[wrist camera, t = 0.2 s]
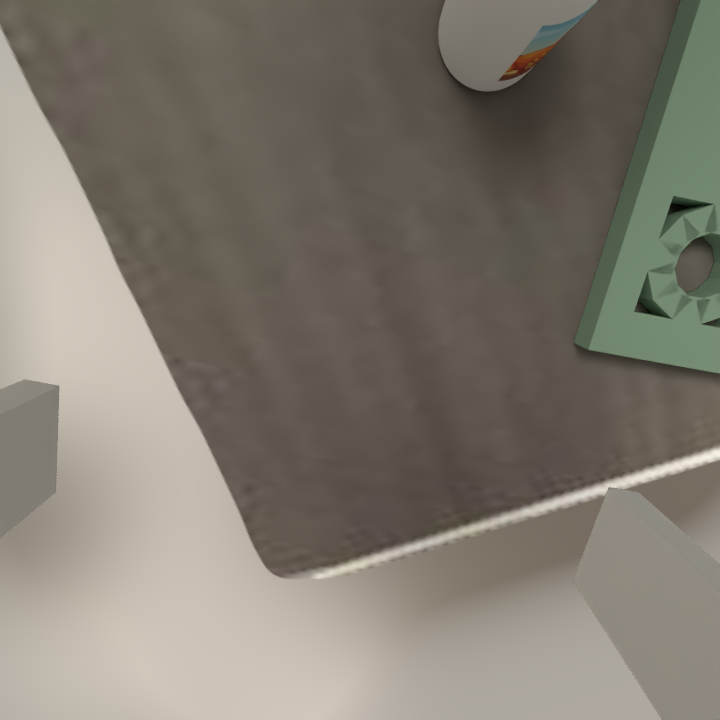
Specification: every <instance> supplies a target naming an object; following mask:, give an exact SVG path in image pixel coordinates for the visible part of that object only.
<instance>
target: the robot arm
mask: <svg viewBox="0 0 720 720" xmlns="http://www.w3.org/2000/svg"><path fill="white" fill-rule="evenodd" d="M58 409H59V386H57V385H52V384H47V383H41V382H36V381H30V380H22V381H20V382H17V383H15V384H12V385H10V386H8V387H5V388H3V389H0V538H1V537H2V536H4V535H5V534H6V533H7V532H8V531H10V530H11V529H12V528H13V527H14V526H16V525H17V524H18V523H19V522H20V521H22V520H23V519H24V518H25V517H26V516H28V515H29V514H30V513H31V512H33V511H34V510H35V509H36V508H37V507H39V506H40V505H41V504H42V503H43V502H44V501H46V500H47V499H48V498H49V497H51V496H52V495H53V494H54V493H55V492H56V472H57V441H58ZM573 582H574V583H575V585H576V586H577V587H578V589H579V591H580V592H581V594H582V596H583V597H584V599H585V600H586V602H587V603H588V605H589V607H590V608H591V610H592V611H593V613H594V614H595V616H596V618H597V619H598V621H599V622H600V624H601V625H602V627H603V628H604V630H605V632H606V633H607V635H608V636H609V638H610V639H611V641H612V643H613V644H614V646H615V647H616V649H617V650H618V652H619V654H620V655H621V656H622V658H623V660H624V661H625V663H626V665H627V666H628V668H629V669H630V671H631V672H632V674H633V675H634V677H635V679H636V680H637V681H638V683H639V685H640V686H641V688H642V689H643V691H644V693H645V694H646V696H647V697H648V699H649V701H650V702H651V704H652V705H653V707H654V708H655V710H656V711H657V713H658V715H659V716H660V718H661V719H662V720H720V564H719V563H717V562H716V561H715V560H714V559H713V558H712V557H711V556H710V555H709V554H707V553H706V552H705V551H704V550H703V549H702V548H701V547H700V546H698V545H697V544H696V543H695V542H694V541H693V540H692V539H690V538H689V537H688V536H687V535H686V534H685V533H683V531H681V530H680V529H679V528H678V527H677V526H676V525H674V524H673V523H672V522H671V521H670V520H669V519H668V518H667V517H666V516H665V515H663V514H662V513H661V512H660V511H659V510H658V509H657V508H656V507H654V506H653V505H652V504H651V503H650V502H649V501H648V500H647V499H645V498H644V497H643V496H642V495H641V494H640V493H638V492H633V491H627V490H622V489H617V488H611V487H609V488H608V491H607V493H606V496H605V499H604V501H603V504H602V506H601V509H600V512H599V514H598V517H597V519H596V522H595V525H594V527H593V530H592V532H591V535H590V537H589V540H588V543H587V545H586V548H585V550H584V553H583V556H582V558H581V561H580V563H579V566H578V568H577V571H576V574H575V576H574V579H573Z"/></svg>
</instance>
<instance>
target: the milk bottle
mask: <svg viewBox="0 0 720 720" xmlns="http://www.w3.org/2000/svg"><path fill="white" fill-rule="evenodd" d="M597 1H598V0H445V3H444V6H443V9H442V13H441V16H440V21H439V27H438V42H439V48H440V52H441V55H442V58H443V61H444V63H445V65H446V67H447V68H448V70H449V71H450V73H451V74H452V75H453V76H454V77H455V78H456V79H457V80H458V81H459V82H461V83H462V84H464V85H465V86H467V87H469V88H472V89H474V90H479V91H497V90H501V89H504V88H507V87H509V86H511V85H513V84H514V83H516V82H517V81H519V80H520V79H521V78H522V77H523V76H524V75H526V74H527V73H528V72H529V71H530V70H531V69H532V68H533V67H534V66H535V65H536V64H537V63H538V62H539V61H540V60H541V59H542V58H543V57H544V56H545V55H546V54H547V53H548V52H549V51H550V50H551V49H552V48H553V47H554V46H555V45H556V44H557V43H558V42H559V41H560V40H561V39H562V38H563V37H564V36H565V35H566V34H567V33H568V32H569V31H570V30H571V29H572V28H573V27H574V26H575V25H576V24H577V23H578V22H579V21H580V20H581V18H582V17H583V16H584V15H585V14H586V13H587V12H588V11H589V10H590V9H591V8H592V7H593V6H594V5H595V3H596V2H597Z"/></svg>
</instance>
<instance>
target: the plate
mask: <svg viewBox="0 0 720 720" xmlns="http://www.w3.org/2000/svg"><path fill="white" fill-rule="evenodd" d="M671 203H674V204H679V205H684V206H689V207H688V208H685V209H682V210H679V211H676V212H674V213H671V214H668V215H667V213H668V210H669V207H670V204H671ZM700 236H702V237H703V238H704V239H705V240H706V241H707V242H708V243H709V244H710V245H711V246H712V249H713V256H714V265H713V267H712V270H711V273H710V275H709V278H708V279H707V280H706V281H705V282H704V283H703V284H702V285H701V286H700V287H699V288H698V289H696V290H694V291H691V292H688V293H685V292H684V291H683V290H682V289H681V288H680V287H679V286H678V285H677V279H676V273H675V267H676V264H677V261H678V258H679V256H680V253H681V251H682V250H683V249H684V248H685V247H686V246H687V245H688V244H689V243H690V242H691V241H692V240H693V239H695V238H698V237H700ZM637 301H639V302H640V303H641V304H642V305H643V306H644V307H645V308H646V309H647V310H648V311H649V312H650V313H651V314H648V313H643V312H638V311H634V310H635V307H636V304H637ZM715 319H717V320H716V322H715V325H714V326H713V325H707V324H703V323H706V322H709V321H712V320H715ZM574 343H575V344H577V345H579V346H581V347H583V348H586V349H588V350H592V351H598V352H603V353H609V354H614V355H620V356H625V357H631V358H636V359H642V360H648V361H653V362H659V363H664V364H670V365H675V366H681V367H686V368H692V369H697V370H703V371H708V372H714V373H719V374H720V0H681V1H680V4H679V7H678V10H677V13H676V17H675V20H674V23H673V26H672V29H671V33H670V36H669V39H668V42H667V46H666V49H665V52H664V55H663V58H662V62H661V65H660V68H659V71H658V74H657V78H656V81H655V84H654V87H653V90H652V94H651V97H650V100H649V103H648V107H647V110H646V113H645V116H644V119H643V123H642V126H641V129H640V132H639V135H638V139H637V142H636V145H635V148H634V151H633V155H632V158H631V161H630V164H629V167H628V171H627V174H626V177H625V180H624V184H623V187H622V190H621V193H620V196H619V200H618V203H617V206H616V209H615V212H614V216H613V219H612V222H611V225H610V228H609V232H608V235H607V238H606V241H605V245H604V248H603V251H602V254H601V257H600V261H599V264H598V267H597V270H596V273H595V277H594V280H593V283H592V286H591V289H590V293H589V296H588V299H587V302H586V306H585V309H584V312H583V315H582V318H581V322H580V325H579V328H578V331H577V334H576V338H575V341H574Z"/></svg>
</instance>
